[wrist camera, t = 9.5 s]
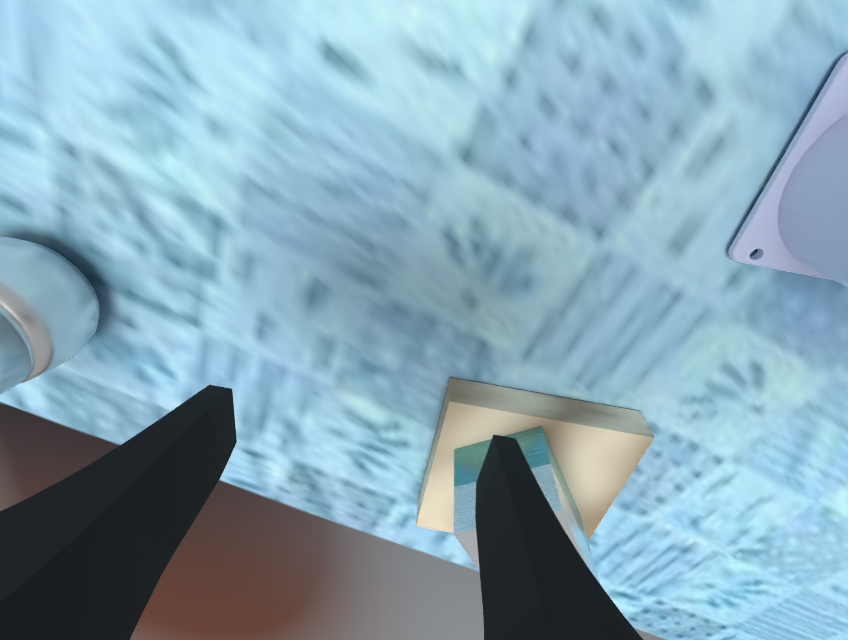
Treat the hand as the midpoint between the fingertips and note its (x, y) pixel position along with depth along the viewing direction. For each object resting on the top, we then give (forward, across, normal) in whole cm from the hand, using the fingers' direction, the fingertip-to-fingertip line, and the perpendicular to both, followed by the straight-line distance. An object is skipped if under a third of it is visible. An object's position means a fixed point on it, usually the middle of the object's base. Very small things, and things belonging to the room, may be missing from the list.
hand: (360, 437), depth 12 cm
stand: (+10, -9, +11) cm, 18 cm away
